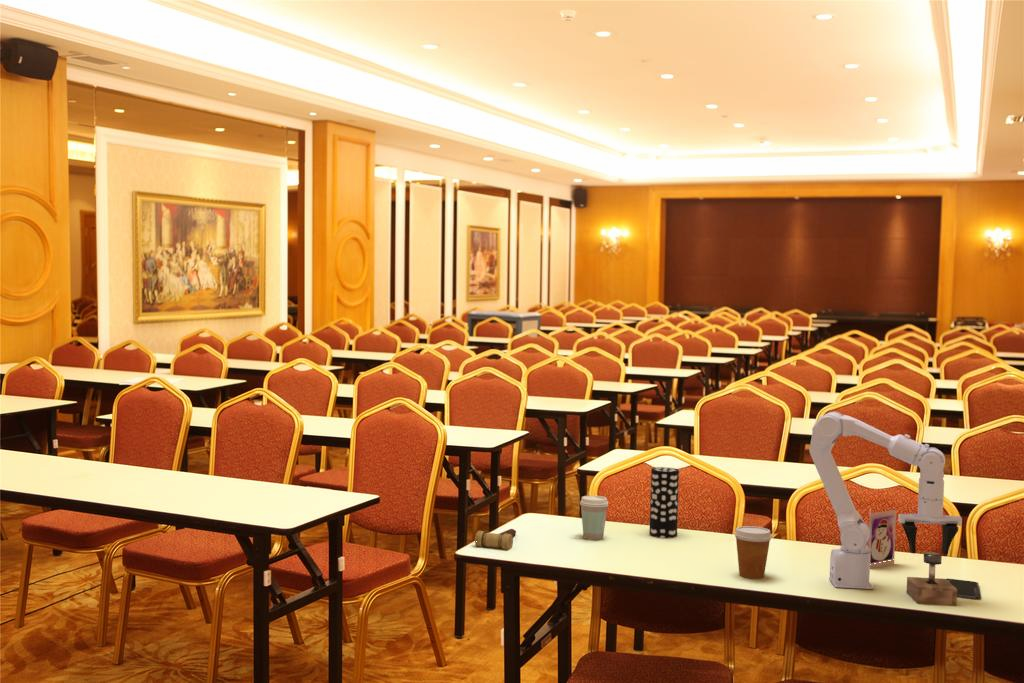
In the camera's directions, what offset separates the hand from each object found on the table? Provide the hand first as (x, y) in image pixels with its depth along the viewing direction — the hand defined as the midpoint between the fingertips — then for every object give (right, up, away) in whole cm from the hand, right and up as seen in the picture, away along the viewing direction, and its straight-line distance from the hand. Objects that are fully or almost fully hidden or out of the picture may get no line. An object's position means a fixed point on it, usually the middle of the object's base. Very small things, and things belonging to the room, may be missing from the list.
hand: (928, 553), depth 248 cm
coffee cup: (-78, -7, +53) cm, 95 cm away
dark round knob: (-1, -7, -3) cm, 8 cm away
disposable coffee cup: (-40, -9, +15) cm, 44 cm away
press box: (-1, -11, -3) cm, 11 cm away
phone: (+11, -11, +6) cm, 16 cm away
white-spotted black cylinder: (-56, -7, +59) cm, 82 cm away
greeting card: (-3, -9, +30) cm, 32 cm away
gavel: (-105, -7, +46) cm, 115 cm away
